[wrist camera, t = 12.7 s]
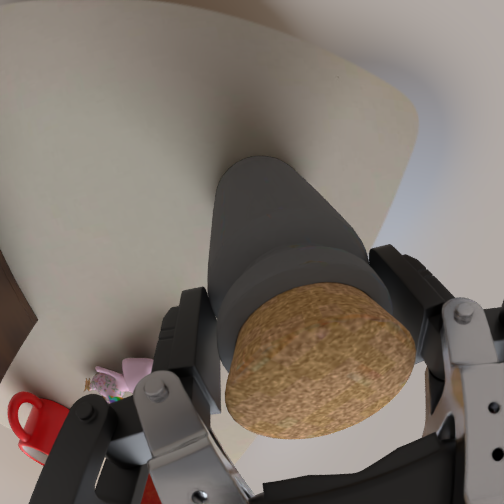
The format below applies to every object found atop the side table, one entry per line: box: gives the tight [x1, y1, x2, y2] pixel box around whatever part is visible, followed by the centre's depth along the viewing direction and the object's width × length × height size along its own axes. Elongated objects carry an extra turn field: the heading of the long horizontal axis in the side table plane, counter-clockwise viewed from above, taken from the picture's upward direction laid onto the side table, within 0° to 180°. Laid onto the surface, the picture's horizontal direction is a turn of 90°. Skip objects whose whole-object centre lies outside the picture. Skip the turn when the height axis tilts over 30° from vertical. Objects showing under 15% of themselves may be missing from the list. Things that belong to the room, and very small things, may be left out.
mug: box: [8, 392, 70, 466], centre depth 26 cm, size 8×12×8 cm, turn 18°
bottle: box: [208, 156, 416, 439], centre depth 13 cm, size 6×6×15 cm
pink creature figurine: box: [84, 358, 154, 403], centre depth 23 cm, size 6×6×15 cm
